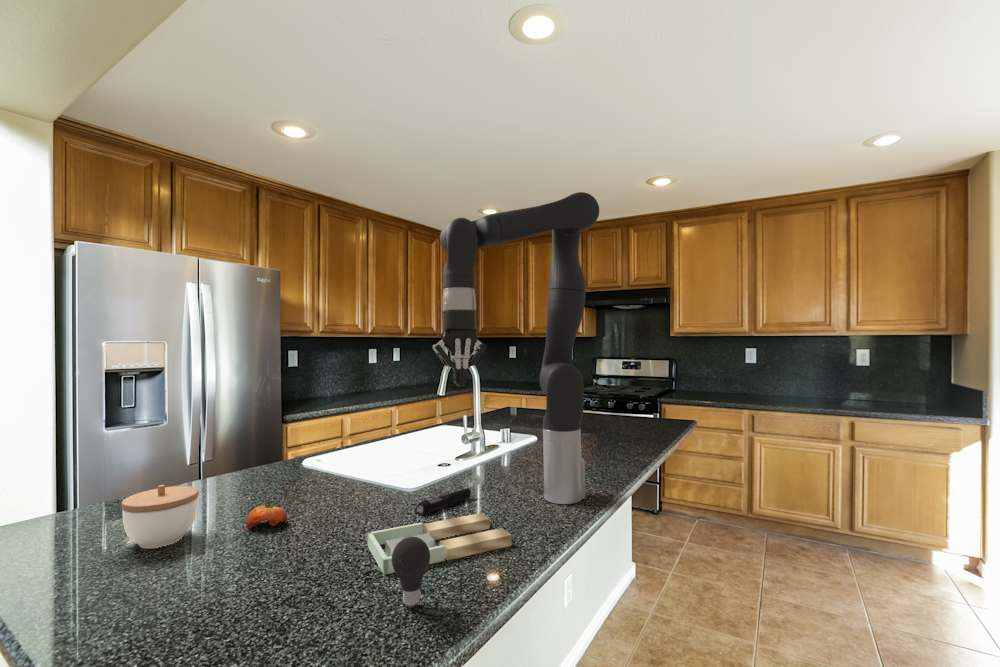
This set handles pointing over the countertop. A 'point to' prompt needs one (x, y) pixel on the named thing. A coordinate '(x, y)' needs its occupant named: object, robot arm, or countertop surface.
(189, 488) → the lidded bowl
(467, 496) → the electric trimmer
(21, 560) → the countertop surface
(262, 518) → the tomato
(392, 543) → the metal chip
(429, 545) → the metal chip
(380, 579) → the countertop surface
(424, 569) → the light bulb
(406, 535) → the box
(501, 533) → the slot rails
